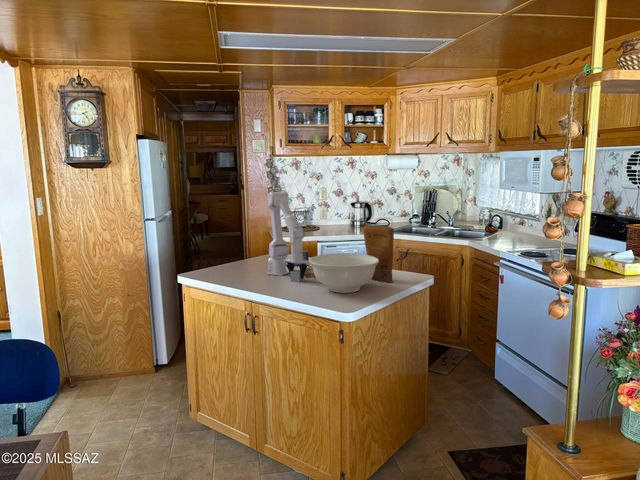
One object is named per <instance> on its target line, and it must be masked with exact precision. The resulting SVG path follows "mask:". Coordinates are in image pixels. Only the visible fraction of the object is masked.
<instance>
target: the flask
mask: <svg viewBox="0 0 640 480" xmlns="http://www.w3.org/2000/svg"><path fill="white" fill-rule="evenodd" d="M302 254H303V260H308V261H309V260H310V257H309V256H310V255H309V251H308V250H304V249H302ZM300 265H301V264H295V266H294V267H298V266H300ZM308 266H310V265H308Z"/></svg>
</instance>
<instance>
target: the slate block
mask: <svg viewBox="0 0 640 480" xmlns="http://www.w3.org/2000/svg"><path fill="white" fill-rule="evenodd" d="M290 275H291V276H290ZM289 276H290V282H293V281H296V282H295V283H300V281H301V282H303V281H304V280H305V277H304V278H303V279H301V277H300V269H294V270H293V271H291V272H289ZM302 280H303V281H302Z"/></svg>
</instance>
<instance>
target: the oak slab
mask: <svg viewBox="0 0 640 480" xmlns="http://www.w3.org/2000/svg"><path fill="white" fill-rule="evenodd" d="M305 273H310V274H314V271H313V266H312V265H309V266H308V267H307V268H306V270H305Z"/></svg>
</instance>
